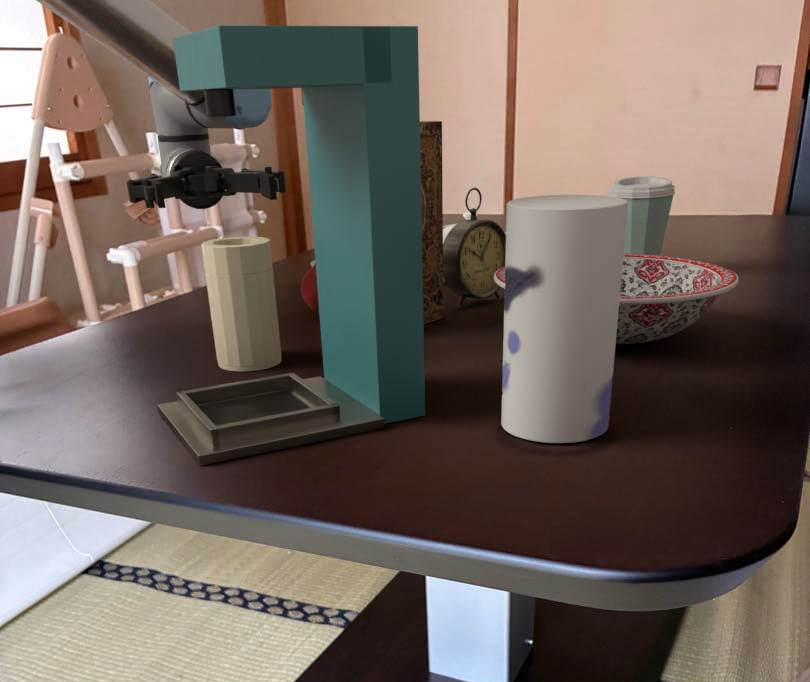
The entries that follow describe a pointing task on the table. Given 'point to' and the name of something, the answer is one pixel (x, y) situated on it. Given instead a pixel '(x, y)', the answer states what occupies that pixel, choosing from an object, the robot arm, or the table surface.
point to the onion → (310, 289)
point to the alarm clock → (473, 256)
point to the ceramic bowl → (662, 294)
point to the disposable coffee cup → (645, 212)
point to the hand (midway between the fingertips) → (217, 192)
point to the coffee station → (328, 233)
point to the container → (561, 315)
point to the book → (432, 219)
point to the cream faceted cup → (242, 302)
